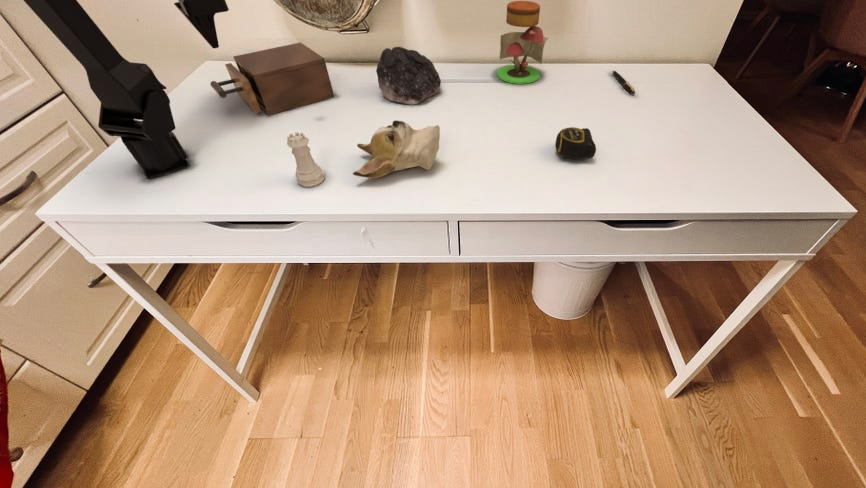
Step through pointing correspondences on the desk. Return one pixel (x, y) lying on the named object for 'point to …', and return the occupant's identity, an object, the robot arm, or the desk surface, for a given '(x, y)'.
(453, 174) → the desk surface
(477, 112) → the desk surface
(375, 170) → the ceramic sculpture
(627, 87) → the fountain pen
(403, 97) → the crystal cluster
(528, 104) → the desk surface
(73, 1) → the robot arm
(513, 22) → the mushroom figurine
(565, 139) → the tape measure
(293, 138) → the rook chess piece
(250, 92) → the drawer
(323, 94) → the cabinet
